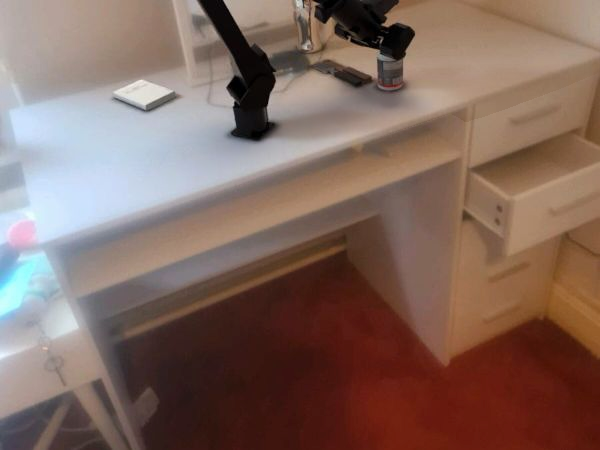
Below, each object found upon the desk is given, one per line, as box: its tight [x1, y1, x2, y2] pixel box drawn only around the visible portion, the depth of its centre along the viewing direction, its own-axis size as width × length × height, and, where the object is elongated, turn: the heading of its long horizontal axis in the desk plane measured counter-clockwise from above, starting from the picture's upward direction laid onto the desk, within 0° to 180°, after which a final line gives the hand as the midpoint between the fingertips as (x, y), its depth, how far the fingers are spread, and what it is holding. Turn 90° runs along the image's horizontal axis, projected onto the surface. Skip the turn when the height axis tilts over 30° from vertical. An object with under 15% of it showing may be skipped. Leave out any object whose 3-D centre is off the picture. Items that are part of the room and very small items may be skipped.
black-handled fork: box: [311, 61, 363, 88], centre depth 134 cm, size 16×3×1 cm, turn 34°
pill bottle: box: [376, 39, 404, 92], centre depth 124 cm, size 5×5×10 cm
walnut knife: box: [321, 59, 373, 84], centre depth 135 cm, size 16×2×1 cm, turn 34°
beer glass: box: [290, 0, 323, 54], centre depth 143 cm, size 7×7×15 cm
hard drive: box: [112, 79, 177, 112], centre depth 134 cm, size 2×8×12 cm
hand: (395, 52), depth 123 cm, fingers closed on pill bottle, 5 cm apart
